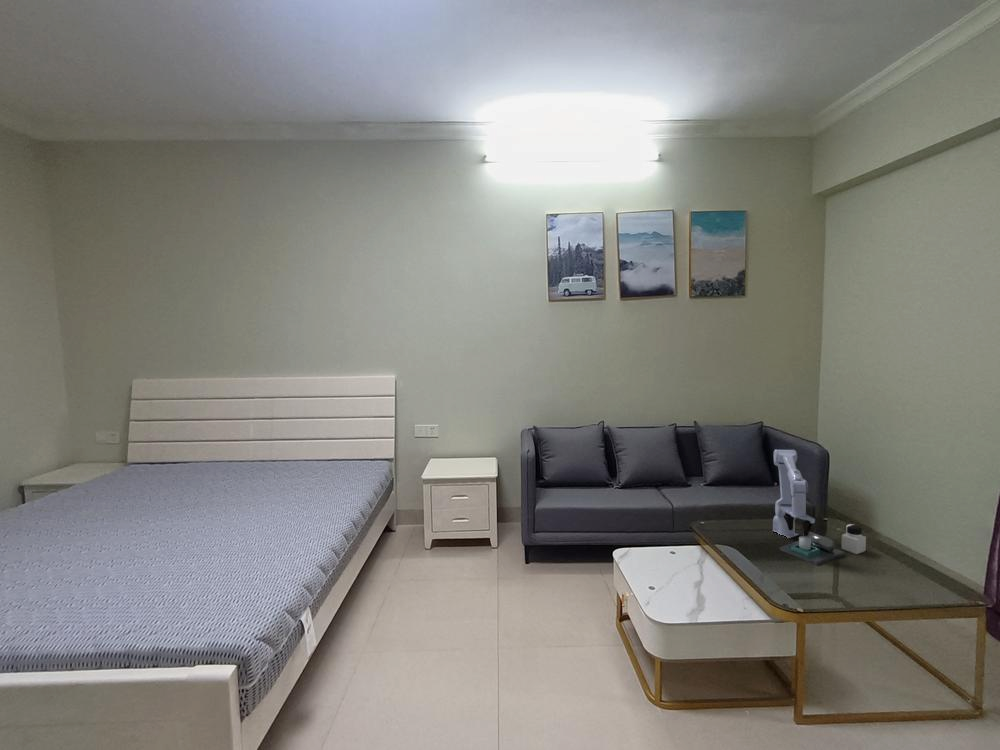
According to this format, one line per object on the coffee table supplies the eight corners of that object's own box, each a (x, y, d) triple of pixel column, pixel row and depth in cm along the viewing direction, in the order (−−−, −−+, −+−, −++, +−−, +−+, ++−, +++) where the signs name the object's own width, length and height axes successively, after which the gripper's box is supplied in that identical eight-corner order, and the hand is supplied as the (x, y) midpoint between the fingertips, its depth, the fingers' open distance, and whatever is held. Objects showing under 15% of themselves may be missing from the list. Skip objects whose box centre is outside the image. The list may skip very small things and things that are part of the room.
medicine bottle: (866, 551, 237) (866, 526, 236) (857, 554, 234) (857, 529, 233) (850, 545, 243) (850, 521, 242) (841, 548, 240) (841, 524, 239)
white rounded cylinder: (796, 550, 237) (796, 537, 237) (803, 548, 239) (803, 535, 238) (806, 554, 233) (806, 541, 232) (813, 552, 234) (813, 539, 234)
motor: (779, 550, 242) (779, 535, 241) (806, 540, 250) (806, 527, 250) (816, 565, 226) (816, 550, 225) (844, 555, 234) (844, 540, 233)
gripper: (778, 502, 242) (778, 529, 244) (808, 511, 229) (807, 540, 231) (788, 499, 245) (788, 526, 247) (818, 508, 232) (817, 536, 234)
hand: (798, 532), depth 239 cm, fingers open, 7 cm apart
